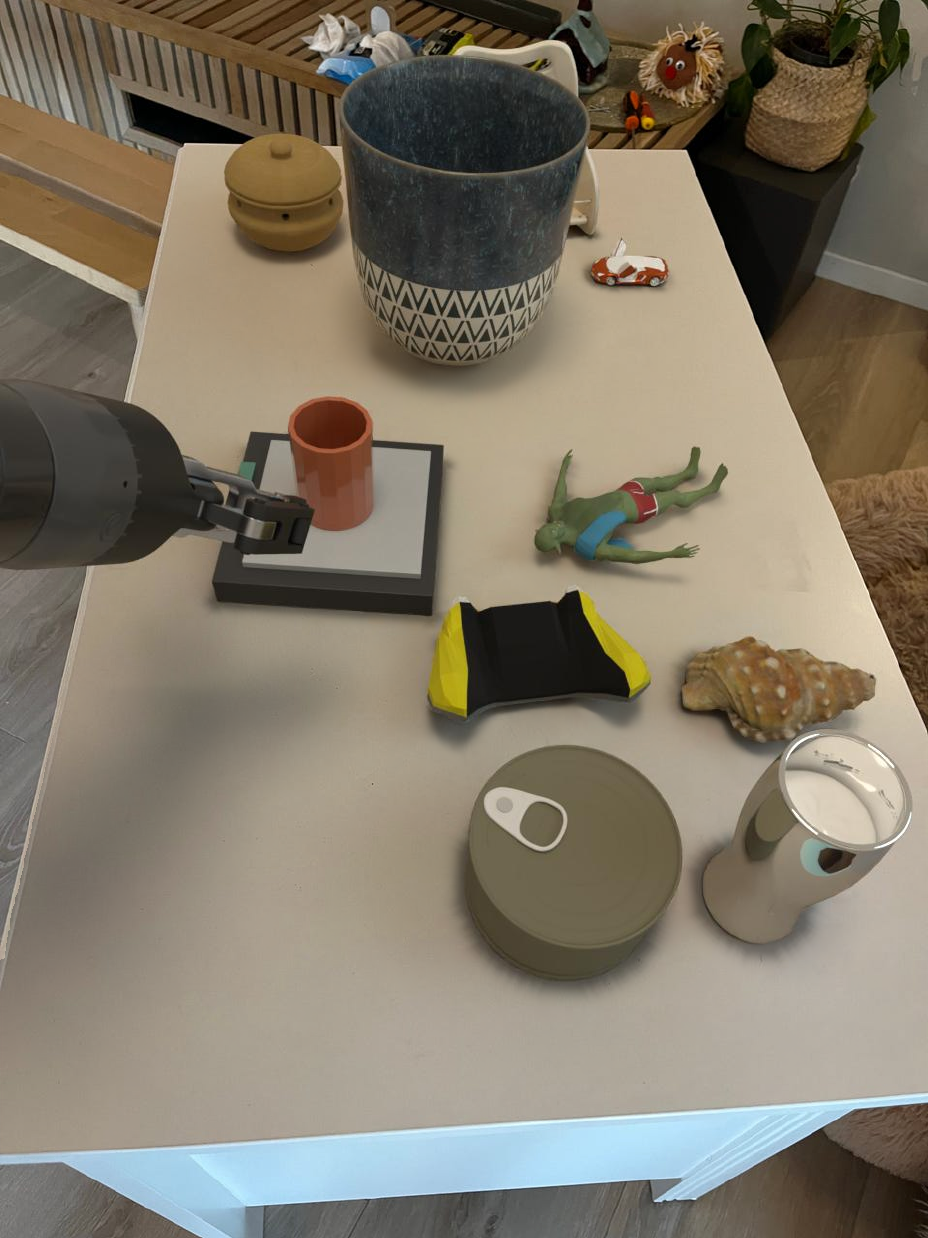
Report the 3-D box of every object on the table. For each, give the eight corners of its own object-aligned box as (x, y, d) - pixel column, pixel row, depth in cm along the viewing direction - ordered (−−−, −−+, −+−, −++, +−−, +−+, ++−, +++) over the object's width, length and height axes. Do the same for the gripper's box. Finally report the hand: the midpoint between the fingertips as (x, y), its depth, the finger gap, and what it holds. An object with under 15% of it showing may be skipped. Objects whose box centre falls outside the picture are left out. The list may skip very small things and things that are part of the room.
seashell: (754, 670, 71) (865, 618, 63) (775, 771, 67) (895, 729, 60) (666, 647, 66) (774, 588, 59) (683, 755, 63) (800, 706, 55)
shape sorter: (566, 189, 106) (593, 18, 92) (595, 240, 100) (629, 64, 86) (399, 201, 102) (400, 24, 88) (419, 254, 96) (423, 74, 82)
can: (613, 1023, 52) (639, 991, 46) (426, 924, 55) (430, 882, 49) (680, 846, 58) (710, 799, 53) (511, 765, 61) (522, 713, 56)
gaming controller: (645, 726, 64) (607, 612, 69) (663, 683, 59) (622, 565, 65) (432, 753, 61) (411, 633, 67) (435, 711, 57) (412, 586, 63)
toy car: (587, 261, 97) (592, 234, 95) (661, 264, 98) (668, 236, 95) (593, 290, 94) (598, 262, 92) (669, 293, 95) (677, 265, 92)
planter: (578, 396, 84) (625, 165, 67) (369, 420, 81) (363, 183, 63) (521, 274, 95) (548, 49, 78) (335, 291, 92) (321, 58, 74)
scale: (216, 601, 68) (210, 576, 65) (254, 452, 77) (249, 425, 75) (431, 615, 68) (433, 591, 66) (442, 465, 78) (444, 439, 75)
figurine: (784, 500, 71) (604, 584, 64) (772, 539, 74) (598, 625, 67) (649, 411, 81) (480, 476, 74) (643, 449, 83) (479, 515, 76)
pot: (341, 205, 101) (337, 111, 93) (348, 266, 94) (344, 170, 86) (233, 206, 100) (219, 111, 92) (232, 268, 93) (216, 171, 85)
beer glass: (691, 835, 59) (767, 717, 47) (799, 848, 59) (903, 733, 47) (697, 944, 55) (782, 845, 43) (813, 958, 55) (930, 863, 43)
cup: (293, 528, 69) (282, 449, 62) (303, 473, 72) (294, 393, 66) (370, 533, 69) (367, 455, 62) (377, 479, 72) (375, 399, 66)
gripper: (226, 444, 36) (360, 468, 52) (-67, 340, 39) (145, 394, 55) (177, 620, 38) (322, 592, 53) (-104, 509, 40) (114, 513, 56)
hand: (233, 492), depth 54 cm, fingers open, 8 cm apart
